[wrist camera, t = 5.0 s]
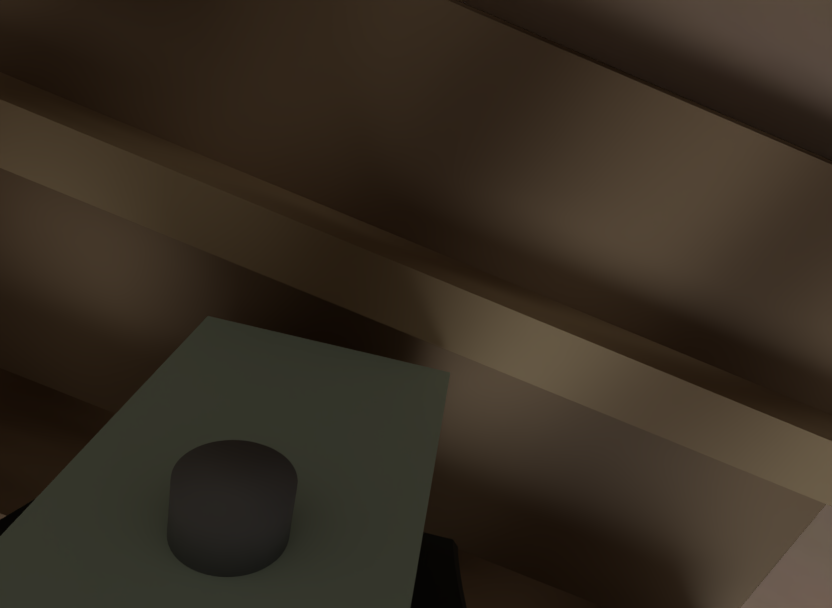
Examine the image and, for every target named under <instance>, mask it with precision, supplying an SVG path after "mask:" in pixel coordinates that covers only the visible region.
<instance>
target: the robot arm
mask: <svg viewBox="0 0 832 608" xmlns="http://www.w3.org/2000/svg"><path fill="white" fill-rule="evenodd" d="M35 499H36V498H35ZM35 499H33V500H32V501H30V502H29V503H27V504H25V505H24V506H22V507H20V508H19V509H17V510H15V511H14V512H12V513H10V514H8V515H7V516H5V517H3V518H2V519H0V536H1V535H2V534H3V533H4V532H5V531H6V530H7V529H8V528H9V526H10V525H11V524H12V523H13V522H14V521H15V520H16V519H17V518H18V517H19V516H20V515H21V514H22V513H23V512H24V511H25V509H26V508H27V507H28V506H29V505H30V504H31V503H32V502H33V501H34V500H35ZM410 608H467V606H466V602H465V597H464V592H463V586H462V580H461V574H460V566H459V557H458V546H457V545H456V543H455V542H454V540H453V539H450V538H445V537H441V536H437V535H433V534H429V533H425V532H423V537H422V543H421V548H420V554H419V560H418V566H417V572H416V578H415V584H414V590H413V596H412V602H411V607H410Z"/></svg>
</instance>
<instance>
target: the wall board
mask: <svg viewBox="0 0 832 608" xmlns="http://www.w3.org/2000/svg"><path fill="white" fill-rule="evenodd" d="M207 316H211V317H215V318H219V319H223V320H228V321H232V322H236V323H241V324H245V325H249V326H253V327H258V328H262V329H266V330H271V331H275V332H279V333H283V334H288V335H292V336H296V337H301V338H305V339H309V340H313V341H318V342H322V343H326V344H331V345H335V346H339V347H343V348H348V349H352V350H356V351H361V352H365V353H369V354H373V355H378V356H382V357H386V358H390V359H395V360H399V361H403V362H408V363H412V364H416V365H420V366H425V367H429V368H433V369H438V370H442V371H446V372H450V377H449V383H448V389H447V395H446V401H445V407H444V413H443V419H442V424H441V430H440V436H439V442H438V448H437V454H436V460H435V466H434V472H433V478H432V484H431V489H430V495H429V501H428V507H427V513H426V519H425V525H424V531H423V532H425V533H429V534H433V535H437V536H441V537H445V538H450V539H453V540H454V542H455V543H456V545H457V546H458V557H459V566H460V574H461V580H462V586H463V592H464V597H465V602H466V606H467V608H740V607H741V606H742V605H743V604H744V603H745V601H746V600H747V599H748V598H749V597H750V595H751V594H752V593H753V592H754V591H755V589H756V588H757V587H758V586H759V585H760V583H761V582H762V581H763V580H764V579H765V577H766V576H767V575H768V574H769V573H770V571H771V570H772V569H773V568H774V566H775V565H776V564H777V563H778V562H779V560H780V559H781V558H782V557H783V556H784V554H785V553H786V552H787V551H788V550H789V548H790V547H791V546H792V545H793V544H794V542H795V541H796V540H797V539H798V538H799V536H800V535H801V534H802V533H803V532H804V530H805V529H806V528H807V527H808V525H809V524H810V523H811V522H812V521H813V519H814V518H815V517H816V516H817V515H818V513H819V512H820V511H821V510H822V509H823V507H824V506H825V505H826V504H827V505H829V506H832V161H831V160H828V159H826V158H824V157H821V156H819V155H817V154H814V153H812V152H810V151H807V150H805V149H803V148H800V147H798V146H796V145H793V144H791V143H789V142H786V141H784V140H782V139H779V138H777V137H775V136H772V135H770V134H768V133H765V132H763V131H761V130H758V129H756V128H754V127H751V126H749V125H747V124H744V123H742V122H740V121H737V120H735V119H733V118H730V117H728V116H726V115H723V114H721V113H719V112H716V111H714V110H712V109H709V108H707V107H705V106H702V105H700V104H698V103H695V102H693V101H691V100H688V99H686V98H684V97H681V96H679V95H677V94H674V93H672V92H670V91H667V90H665V89H663V88H660V87H658V86H655V85H653V84H651V83H648V82H646V81H644V80H641V79H639V78H637V77H634V76H632V75H630V74H627V73H625V72H623V71H620V70H618V69H616V68H613V67H611V66H609V65H606V64H604V63H602V62H599V61H597V60H595V59H592V58H590V57H588V56H585V55H583V54H581V53H578V52H576V51H574V50H571V49H569V48H567V47H564V46H562V45H560V44H557V43H555V42H553V41H550V40H548V39H546V38H543V37H541V36H539V35H536V34H534V33H532V32H529V31H527V30H525V29H522V28H520V27H518V26H515V25H513V24H511V23H508V22H506V21H504V20H501V19H499V18H497V17H494V16H492V15H490V14H487V13H485V12H483V11H480V10H478V9H476V8H473V7H471V6H469V5H466V4H464V3H462V2H459V1H457V0H0V519H2V518H3V517H5V516H7V515H8V514H10V513H12V512H14V511H15V510H17V509H19V508H20V507H22V506H24V505H25V504H27V503H29V502H30V501H32V500H33V499H35V498H37V497H38V496H39V495H40V494H41V493H42V491H43V490H44V489H45V488H46V487H47V486H48V485H49V484H50V483H51V482H52V481H53V480H54V479H55V478H56V477H57V476H58V474H59V473H60V472H61V471H62V470H63V469H64V468H65V467H66V466H67V465H68V464H69V463H70V462H71V461H72V460H73V459H74V457H75V456H76V455H77V454H78V453H79V452H80V451H81V450H82V449H83V448H84V447H85V446H86V445H87V444H88V443H89V442H90V440H91V439H92V438H93V437H94V436H95V435H96V434H97V433H98V432H99V431H100V430H101V429H102V428H103V427H104V426H105V425H106V424H107V422H108V421H109V420H110V419H111V418H112V417H113V416H114V415H115V414H116V413H117V412H118V411H119V410H120V409H121V408H122V407H123V405H124V404H125V403H126V402H127V401H128V400H129V399H130V398H131V397H132V396H133V395H134V394H135V393H136V392H137V391H138V390H139V388H140V387H141V386H142V385H143V384H144V383H145V382H146V381H147V380H148V379H149V378H150V377H151V376H152V375H153V374H154V373H155V371H156V370H157V369H158V368H159V367H160V366H161V365H162V364H163V363H164V362H165V361H166V360H167V359H168V358H169V357H170V356H171V355H172V353H173V352H174V351H175V350H176V349H177V348H178V347H179V346H180V345H181V344H182V343H183V342H184V341H185V340H186V339H187V338H188V336H189V335H190V334H191V333H192V332H193V331H194V330H195V329H196V328H197V327H198V326H199V325H200V324H201V323H202V322H203V321H204V319H205V318H206V317H207Z"/></svg>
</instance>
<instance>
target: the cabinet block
mask: <svg viewBox="0 0 832 608" xmlns="http://www.w3.org/2000/svg"><path fill="white" fill-rule="evenodd" d="M449 377H450V372H446V371H442V370H438V369H433V368H429V367H425V366H420V365H416V364H412V363H408V362H403V361H399V360H395V359H390V358H386V357H382V356H378V355H373V354H369V353H365V352H361V351H356V350H352V349H348V348H343V347H339V346H335V345H331V344H326V343H322V342H318V341H313V340H309V339H305V338H301V337H296V336H292V335H288V334H283V333H279V332H275V331H271V330H266V329H262V328H258V327H253V326H249V325H245V324H241V323H236V322H232V321H228V320H223V319H219V318H215V317H211V316H207V317H206V318H205V319H204V321H203V322H202V323H201V324H200V325H199V326H198V327H197V328H196V329H195V330H194V331H193V332H192V333H191V334H190V335H189V336H188V338H187V339H186V340H185V341H184V342H183V343H182V344H181V345H180V346H179V347H178V348H177V349H176V350H175V351H174V352H173V353H172V355H171V356H170V357H169V358H168V359H167V360H166V361H165V362H164V363H163V364H162V365H161V366H160V367H159V368H158V369H157V370H156V371H155V373H154V374H153V375H152V376H151V377H150V378H149V379H148V380H147V381H146V382H145V383H144V384H143V385H142V386H141V387H140V388H139V390H138V391H137V392H136V393H135V394H134V395H133V396H132V397H131V398H130V399H129V400H128V401H127V402H126V403H125V404H124V405H123V407H122V408H121V409H120V410H119V411H118V412H117V413H116V414H115V415H114V416H113V417H112V418H111V419H110V420H109V421H108V422H107V424H106V425H105V426H104V427H103V428H102V429H101V430H100V431H99V432H98V433H97V434H96V435H95V436H94V437H93V438H92V439H91V440H90V442H89V443H88V444H87V445H86V446H85V447H84V448H83V449H82V450H81V451H80V452H79V453H78V454H77V455H76V456H75V457H74V459H73V460H72V461H71V462H70V463H69V464H68V465H67V466H66V467H65V468H64V469H63V470H62V471H61V472H60V473H59V474H58V476H57V477H56V478H55V479H54V480H53V481H52V482H51V483H50V484H49V485H48V486H47V487H46V488H45V489H44V490H43V491H42V493H41V494H40V495H39V496H38V497H37V498H36V499H35V500H34V501H33V502H32V503H31V504H30V505H29V506H28V507H27V508H26V509H25V511H24V512H23V513H22V514H21V515H20V516H19V517H18V518H17V519H16V520H15V521H14V522H13V523H12V524H11V525H10V526H9V528H8V529H7V530H6V531H5V532H4V533H3V534H2V535H1V536H0V608H410V607H411V602H412V596H413V590H414V584H415V578H416V572H417V566H418V560H419V554H420V548H421V543H422V537H423V531H424V525H425V519H426V513H427V507H428V501H429V495H430V489H431V484H432V478H433V472H434V466H435V460H436V454H437V448H438V442H439V436H440V430H441V424H442V419H443V413H444V407H445V401H446V395H447V389H448V383H449Z"/></svg>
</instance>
